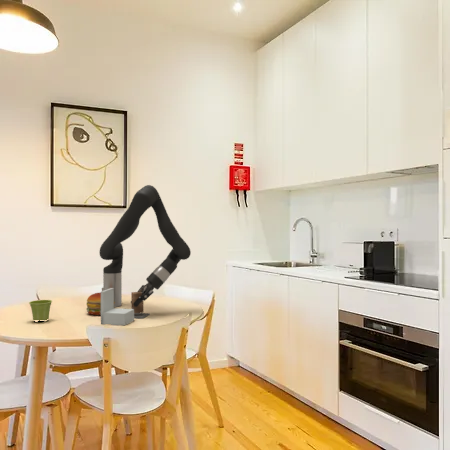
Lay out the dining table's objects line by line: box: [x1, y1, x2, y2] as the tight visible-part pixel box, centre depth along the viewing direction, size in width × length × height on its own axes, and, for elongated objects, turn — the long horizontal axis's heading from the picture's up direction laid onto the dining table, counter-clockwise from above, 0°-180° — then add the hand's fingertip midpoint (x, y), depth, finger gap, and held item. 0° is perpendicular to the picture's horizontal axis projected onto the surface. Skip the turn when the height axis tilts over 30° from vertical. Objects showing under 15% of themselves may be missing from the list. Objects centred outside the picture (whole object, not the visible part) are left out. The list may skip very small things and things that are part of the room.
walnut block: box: [130, 291, 144, 313], centre depth 208 cm, size 4×4×9 cm
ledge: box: [100, 288, 135, 326], centre depth 196 cm, size 11×10×14 cm
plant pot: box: [28, 299, 53, 321], centre depth 197 cm, size 9×9×9 cm
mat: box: [134, 312, 151, 319], centre depth 208 cm, size 9×9×1 cm
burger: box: [86, 292, 116, 316], centre depth 214 cm, size 13×14×10 cm
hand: (133, 304), depth 207 cm, fingers closed on walnut block, 4 cm apart
